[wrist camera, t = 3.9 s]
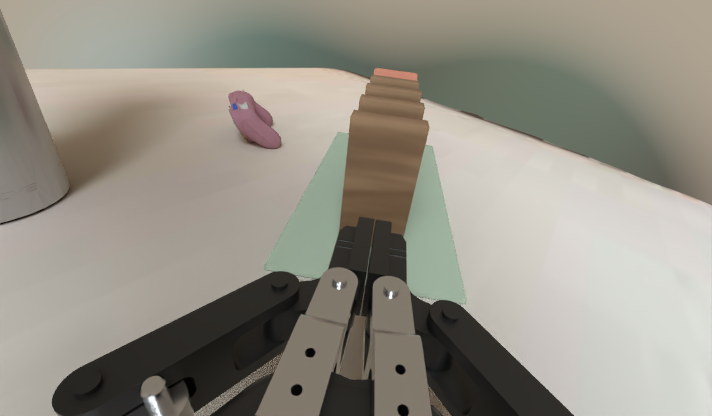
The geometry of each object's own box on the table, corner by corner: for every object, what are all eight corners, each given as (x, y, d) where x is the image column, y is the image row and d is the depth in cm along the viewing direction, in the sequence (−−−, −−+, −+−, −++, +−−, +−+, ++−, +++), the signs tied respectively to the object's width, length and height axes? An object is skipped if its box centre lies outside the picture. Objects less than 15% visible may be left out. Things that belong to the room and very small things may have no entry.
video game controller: (246, 135, 48) (219, 90, 44) (274, 121, 48) (250, 76, 44) (252, 163, 40) (219, 112, 36) (285, 146, 40) (256, 94, 36)
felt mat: (465, 304, 22) (466, 301, 22) (264, 269, 23) (264, 266, 22) (431, 147, 47) (432, 145, 47) (338, 133, 48) (338, 131, 48)
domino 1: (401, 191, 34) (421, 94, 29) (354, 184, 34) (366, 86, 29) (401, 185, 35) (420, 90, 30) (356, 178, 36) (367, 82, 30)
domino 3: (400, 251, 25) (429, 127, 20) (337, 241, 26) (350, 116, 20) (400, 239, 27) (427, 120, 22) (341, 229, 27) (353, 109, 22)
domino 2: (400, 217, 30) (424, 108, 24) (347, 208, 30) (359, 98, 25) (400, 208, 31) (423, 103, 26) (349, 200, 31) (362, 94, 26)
